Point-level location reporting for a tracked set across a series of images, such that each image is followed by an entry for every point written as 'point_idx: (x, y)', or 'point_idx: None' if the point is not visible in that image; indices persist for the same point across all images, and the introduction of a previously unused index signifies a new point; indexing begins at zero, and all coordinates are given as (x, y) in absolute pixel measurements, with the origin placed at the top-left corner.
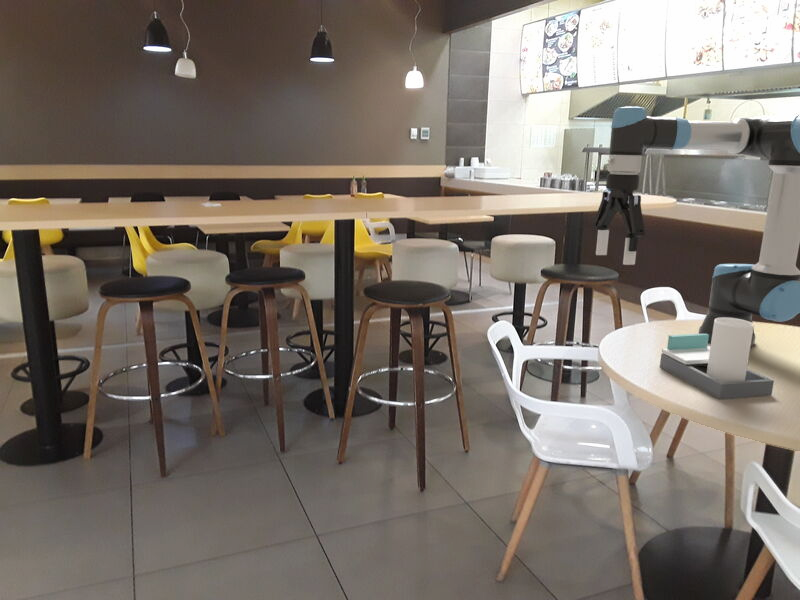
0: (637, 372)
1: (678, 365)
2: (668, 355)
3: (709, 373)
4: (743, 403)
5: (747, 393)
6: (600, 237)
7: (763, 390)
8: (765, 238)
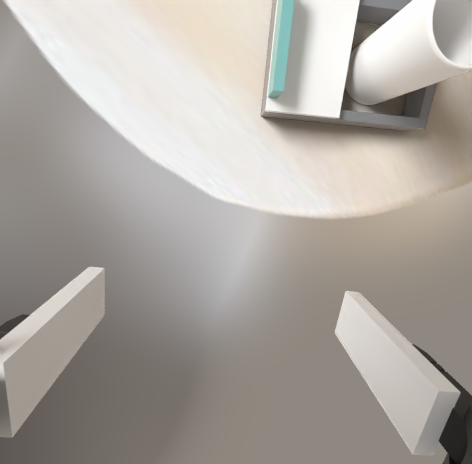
0: (273, 177)
1: (315, 118)
2: (286, 113)
3: (374, 99)
4: (432, 104)
5: None
6: (51, 376)
7: None
8: None
